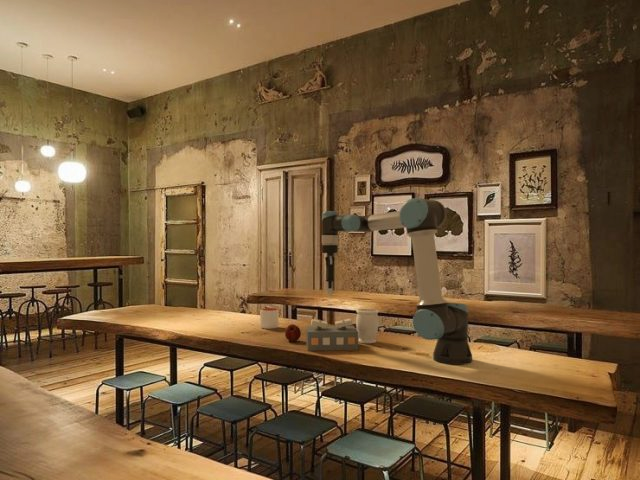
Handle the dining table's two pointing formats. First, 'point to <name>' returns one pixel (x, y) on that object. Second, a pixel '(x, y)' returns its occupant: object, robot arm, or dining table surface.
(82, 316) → the dining table surface
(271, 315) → the cup
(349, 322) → the switch
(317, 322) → the switch
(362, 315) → the jar
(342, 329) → the console
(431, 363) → the dining table surface
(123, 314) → the dining table surface
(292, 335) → the apple
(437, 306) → the robot arm
